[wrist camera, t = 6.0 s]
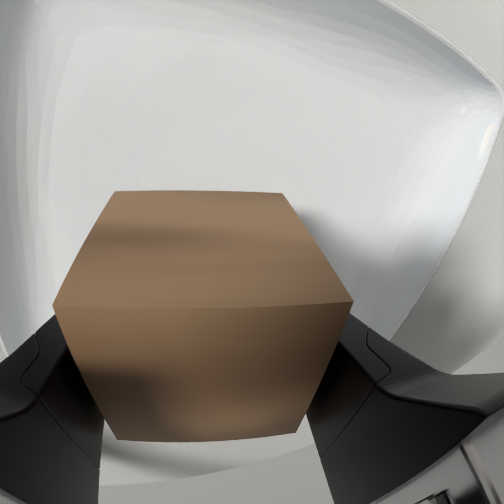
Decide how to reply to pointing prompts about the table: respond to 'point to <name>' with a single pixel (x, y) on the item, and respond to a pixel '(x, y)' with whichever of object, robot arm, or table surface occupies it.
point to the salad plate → (239, 132)
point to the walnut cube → (201, 315)
